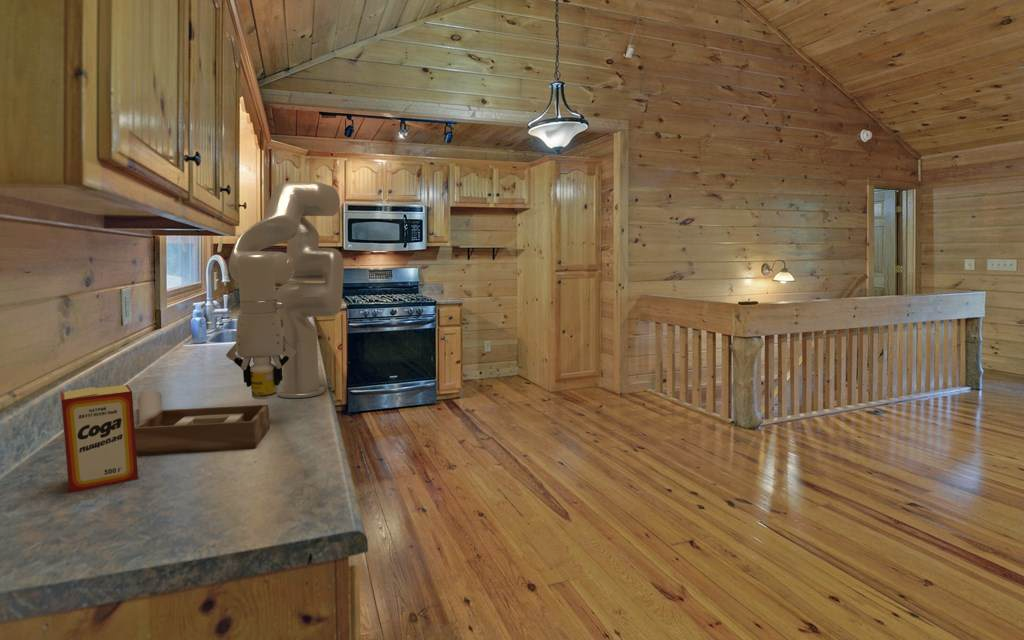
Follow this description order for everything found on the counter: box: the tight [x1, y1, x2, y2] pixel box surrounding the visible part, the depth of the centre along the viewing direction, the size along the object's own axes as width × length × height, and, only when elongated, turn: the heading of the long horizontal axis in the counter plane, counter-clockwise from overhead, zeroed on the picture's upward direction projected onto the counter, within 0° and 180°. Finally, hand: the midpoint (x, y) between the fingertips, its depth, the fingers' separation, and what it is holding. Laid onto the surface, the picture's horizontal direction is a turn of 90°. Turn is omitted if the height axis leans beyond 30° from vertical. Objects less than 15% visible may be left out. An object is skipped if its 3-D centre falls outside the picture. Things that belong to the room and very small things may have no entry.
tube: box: [137, 389, 163, 425], centre depth 135 cm, size 5×5×25 cm
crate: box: [134, 404, 270, 457], centre depth 118 cm, size 14×22×6 cm, turn 102°
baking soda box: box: [60, 384, 139, 494], centre depth 97 cm, size 10×6×16 cm
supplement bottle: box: [250, 357, 278, 400], centre depth 131 cm, size 5×5×10 cm
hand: (263, 383), depth 131 cm, fingers closed on supplement bottle, 5 cm apart
